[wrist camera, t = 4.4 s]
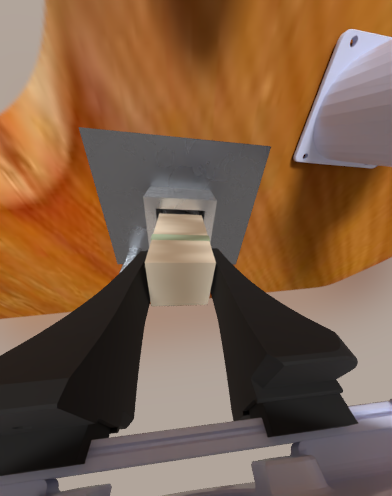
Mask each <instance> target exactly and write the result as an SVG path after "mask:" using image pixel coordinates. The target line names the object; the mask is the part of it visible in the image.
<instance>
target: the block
mask: <svg viewBox="0 0 392 496" xmlns="http://www.w3.org/2000/svg"><path fill="white" fill-rule="evenodd" d="M215 265H216V261H215V258H214V255H213V251H212V248H211V245H210V238H209V235H207V231H206V228H205V225H204V221H203V218H202V215H186V214H161V213H159V216H158V220H157V223H156V226H155V230H154V233H153V234H152V236H151V243H150V247H149V250H148V253H147V257H146V260H145V268H146V274H147V281H148V287H149V294H150V301H151V306H182V305H207V304H208V300H209V295H210V290H211V285H212V280H213V275H214V270H215Z"/></svg>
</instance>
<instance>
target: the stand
mask: <svg viewBox="0 0 392 496" xmlns="http://www.w3.org/2000/svg"><path fill="white" fill-rule="evenodd" d="M79 130H80V134H81V137H82V141H83V144H84V148H85V151H86V155H87V158H88V162H89V165H90V169H91V172H92V176H93V179H94V183H95V186H96V190H97V193H98V197H99V200H100V204H101V207H102V211H103V214H104V218H105V221H106V225H107V228H108V232H109V235H110V239H111V242H112V246H113V249H114V253H115V256H116V260H117V263H118V264H123V266H122V268H121V271H122V270H123V269H124V268H125V267H126V266H127V265H128V264H129V263H130V262H131V261H132V260H133V259H134V258H135V257H136V256H137V255H138V254H139V252H140V251H148V250H149V247H150V243H151V236H152V234H153V233H154V230H155V226H156V223H157V220H158V216H159V213H161V214H186V215H202V218H203V221H204V225H205V228H206V231H207V235H209V238H210V245H211V248H218V249H219V250H220V251H221V253H222V254H223V255H224V256H225V257H226V258H227V259H228V260H229V261H230V262H231V264H236V261H237V258H238V255H239V251H240V248H241V245H242V241H243V238H244V235H245V231H246V228H247V225H248V221H249V218H250V215H251V211H252V208H253V205H254V201H255V198H256V195H257V191H258V188H259V185H260V181H261V178H262V175H263V171H264V168H265V165H266V161H267V158H268V155H269V151H270V148H271V147H270V146H260V145H250V144H240V143H230V142H220V141H210V140H200V139H190V138H180V137H170V136H160V135H150V134H140V133H130V132H120V131H110V130H100V129H90V128H80V127H79ZM121 271H120V272H121Z"/></svg>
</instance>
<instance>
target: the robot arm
mask: <svg viewBox="0 0 392 496" xmlns="http://www.w3.org/2000/svg"><path fill="white" fill-rule="evenodd" d="M351 39H352V40H353V43H352V46H351V47H350V41H351ZM304 154H305V158H304V159H303V155H304ZM293 159H294V161H296V162H305V163H316V164H327V165H338V166H350V167H361V168H375V167H376V166H378V165H380V166H389V167H392V37H388V36H383V35H378V34H374V33H369V32H364V31H359V30H355V29H349V30H347V31H346V32H344V33H343V34H342V35H341V36H340V37H339V39H338V41H337V44H336V46H335V49H334V52H333V54H332V57H331V60H330V62H329V65H328V67H327V70H326V73H325V75H324V78H323V80H322V83H321V86H320V88H319V91H318V94H317V96H316V99H315V101H314V104H313V107H312V109H311V112H310V114H309V117H308V120H307V122H306V125H305V128H304V130H303V133H302V135H301V138H300V141H299V143H298V146H297V148H296V151H295V154H294V157H293ZM212 251H213V255H214V258H215V261H216V265H215V270H214V275H213V280H212V285H211V290H210V291H211V295H212V299H213V302H214V306H215V310H216V314H217V318H218V322H219V328H220V334H221V340H222V346H223V352H224V359H225V365H226V372H227V380H228V387H229V394H230V402H231V410H232V415H233V420H234V421H232V422H226V423H217V424H209V425H202V426H194V427H187V428H179V429H172V430H164V431H157V432H149V433H142V434H134V435H127V436H120V437H111V438H109V434H111V433H118V431H119V429H126V428H127V427H128V426H129V425H130V423H131V422H132V421H133V419H134V412H135V401H136V390H137V380H138V371H139V362H140V354H141V346H142V339H143V332H144V326H145V320H146V316H147V312H148V308H149V304H150V294H149V287H148V281H147V274H146V268H145V260H146V257H147V253H148V251H140V252H139V254H138V255H137V256H136V257H135V258H134V259H133V260H132V261H131V262H130V263H129V264H128V265H127V266H126V267H125V268H124V269H123V270H122V271H121V272H120V273H119V274H118V275H117V276H116V277H115V278H114V279H113V280H112V281H111V282H110V283H109V284H108V285H107V286H106V287H104V288H103V289H102V290H101V291H100V292H98V293H97V294H96V295H95V296H93V297H92V298H91V299H89V300H88V301H87V302H85V303H84V304H83V305H81V306H80V307H78V308H77V309H76V310H74V311H73V312H71V313H70V314H69V315H67V316H66V317H64V318H63V319H61V320H60V321H58V322H56V323H55V324H53V325H52V326H50V327H49V328H47V329H45V330H44V331H42V332H41V333H39V334H37V335H36V336H34V337H33V338H31V339H29V340H27V341H25V342H24V343H22V344H20V345H18V346H17V347H15V348H13V349H11V350H10V351H8V352H6V353H4V354H3V355H1V356H0V496H110V492H111V484H103V485H95V486H88V487H83V488H77V489H72V490H67V491H62V492H61V491H59V488H58V486H59V485H58V481H57V479H55V478H61V477H68V476H74V475H82V474H88V473H95V472H102V471H108V470H114V469H122V468H129V467H135V466H142V465H148V464H155V463H162V462H168V461H176V460H182V459H189V458H196V457H202V456H209V455H216V454H222V453H229V452H236V451H243V450H249V449H256V448H263V447H269V446H276V445H283V444H289V443H293V444H292V446H291V455H290V456H285V457H277V458H269V459H264V460H258V461H253V462H252V464H251V466H252V471H253V475H254V480H255V482H252V483H244V484H236V485H229V486H221V487H213V488H207V489H199V490H192V491H186V492H180V493H175V494H169V495H164V496H392V399H390V401H384V402H375V403H369V404H360V405H353V406H347V404H346V403H345V401H344V400H343V398H342V397H341V395H340V393H342V392H343V389H342V388H341V386H340V385H339V383H338V382H337V380H336V379H337V378H339V377H341V376H343V375H344V374H346V373H348V372H350V371H351V370H353V369H354V368H355V367H356V366H357V363H358V361H357V358H356V357H355V356H354V355H353V353H352V352H351V351H350V350H349V349H348V347H347V346H346V345H345V344H344V342H343V341H342V340H341V339H340V338H339V336H338V335H337V334H336V333H335V332H333V331H331V330H330V329H328V328H326V327H324V326H322V325H320V324H318V323H316V322H314V321H312V320H310V319H308V318H306V317H304V316H302V315H301V314H299V313H297V312H295V311H294V310H292V309H290V308H288V307H287V306H285V305H283V304H282V303H280V302H279V301H277V300H275V299H274V298H273V297H271V296H270V295H268V294H267V293H265V292H264V291H263V290H261V289H260V288H259V287H257V286H256V285H255V284H253V283H252V282H251V281H250V280H248V279H247V278H246V277H245V276H244V275H243V274H242V273H241V272H240V271H238V270H237V269H236V268H235V267H234V266H233V265H232V264H231V262H230V261H229V260H228V259H227V258H226V257H225V256H224V255H223V254H222V253H221V251H220V250H219V249H218V248H212Z"/></svg>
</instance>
